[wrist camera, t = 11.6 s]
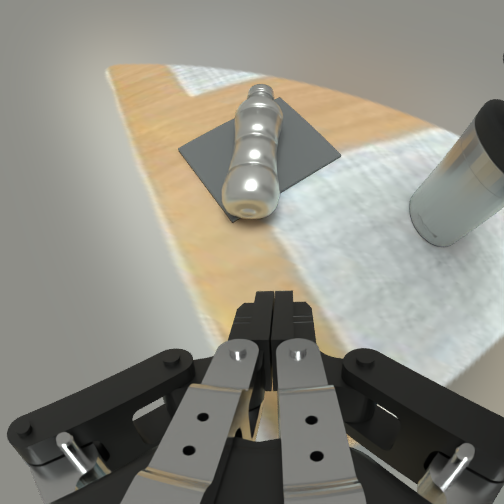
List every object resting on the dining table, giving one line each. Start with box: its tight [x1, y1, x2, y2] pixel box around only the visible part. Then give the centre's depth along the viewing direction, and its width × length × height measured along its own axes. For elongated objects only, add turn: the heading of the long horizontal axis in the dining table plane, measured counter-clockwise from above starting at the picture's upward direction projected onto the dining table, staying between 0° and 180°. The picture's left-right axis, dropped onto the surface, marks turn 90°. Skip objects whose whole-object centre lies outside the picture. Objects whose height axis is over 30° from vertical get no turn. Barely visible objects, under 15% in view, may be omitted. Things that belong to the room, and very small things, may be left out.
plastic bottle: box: [222, 84, 283, 219], centre depth 37 cm, size 6×7×20 cm
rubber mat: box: [178, 97, 341, 223], centre depth 41 cm, size 18×14×1 cm
